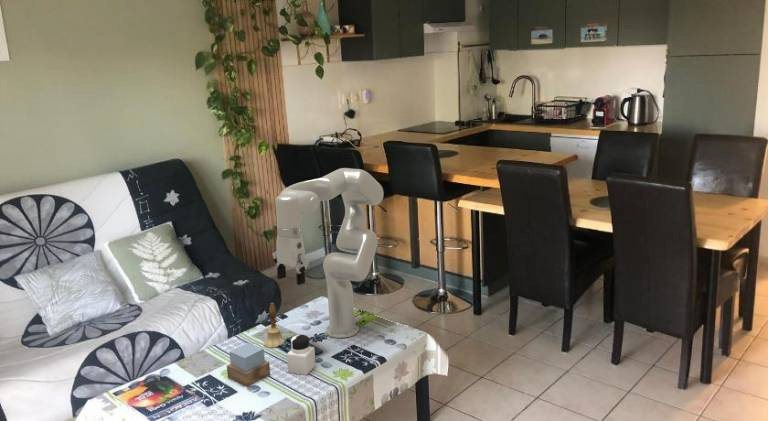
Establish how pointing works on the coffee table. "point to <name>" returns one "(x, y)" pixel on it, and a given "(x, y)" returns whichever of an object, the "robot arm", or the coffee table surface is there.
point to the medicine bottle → (300, 355)
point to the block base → (248, 374)
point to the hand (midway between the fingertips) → (291, 280)
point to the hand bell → (273, 331)
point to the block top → (247, 357)
